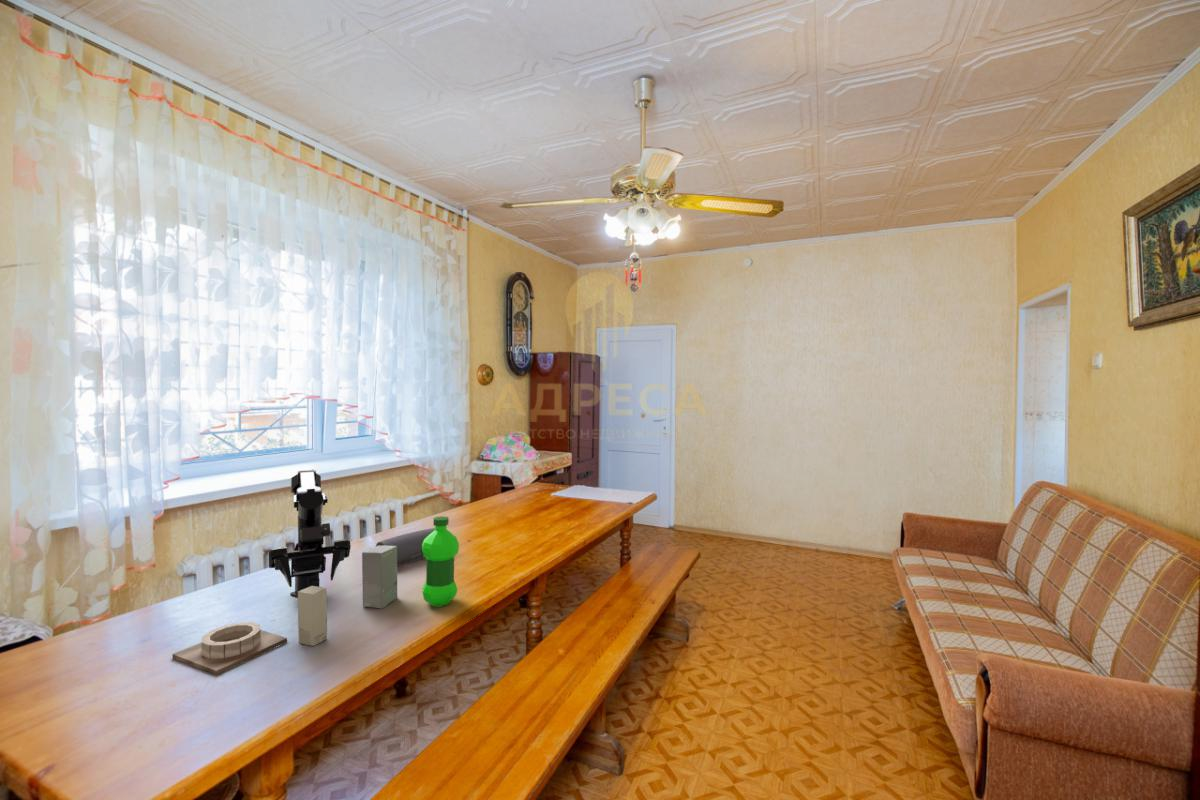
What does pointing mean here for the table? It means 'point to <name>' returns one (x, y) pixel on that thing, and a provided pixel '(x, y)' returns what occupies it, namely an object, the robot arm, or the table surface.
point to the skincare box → (379, 576)
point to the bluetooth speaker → (408, 545)
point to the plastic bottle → (440, 564)
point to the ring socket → (229, 647)
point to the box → (312, 615)
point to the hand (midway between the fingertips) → (311, 583)
